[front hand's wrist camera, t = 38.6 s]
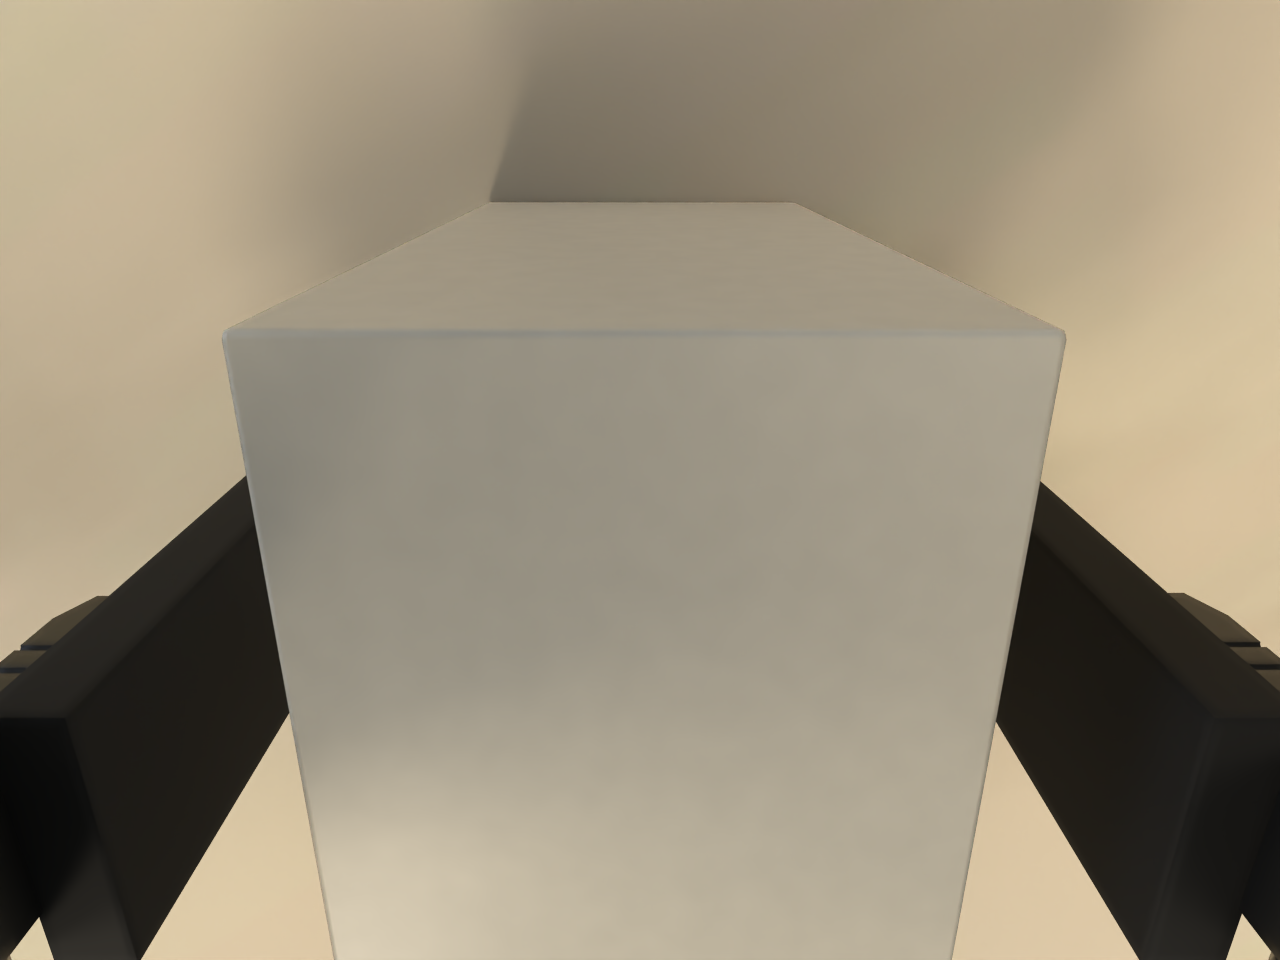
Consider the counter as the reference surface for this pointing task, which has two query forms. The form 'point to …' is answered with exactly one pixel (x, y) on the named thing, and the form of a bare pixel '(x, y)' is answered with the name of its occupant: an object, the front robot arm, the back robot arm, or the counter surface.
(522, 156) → the counter surface
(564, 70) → the counter surface
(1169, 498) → the counter surface
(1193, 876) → the front robot arm
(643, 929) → the block
